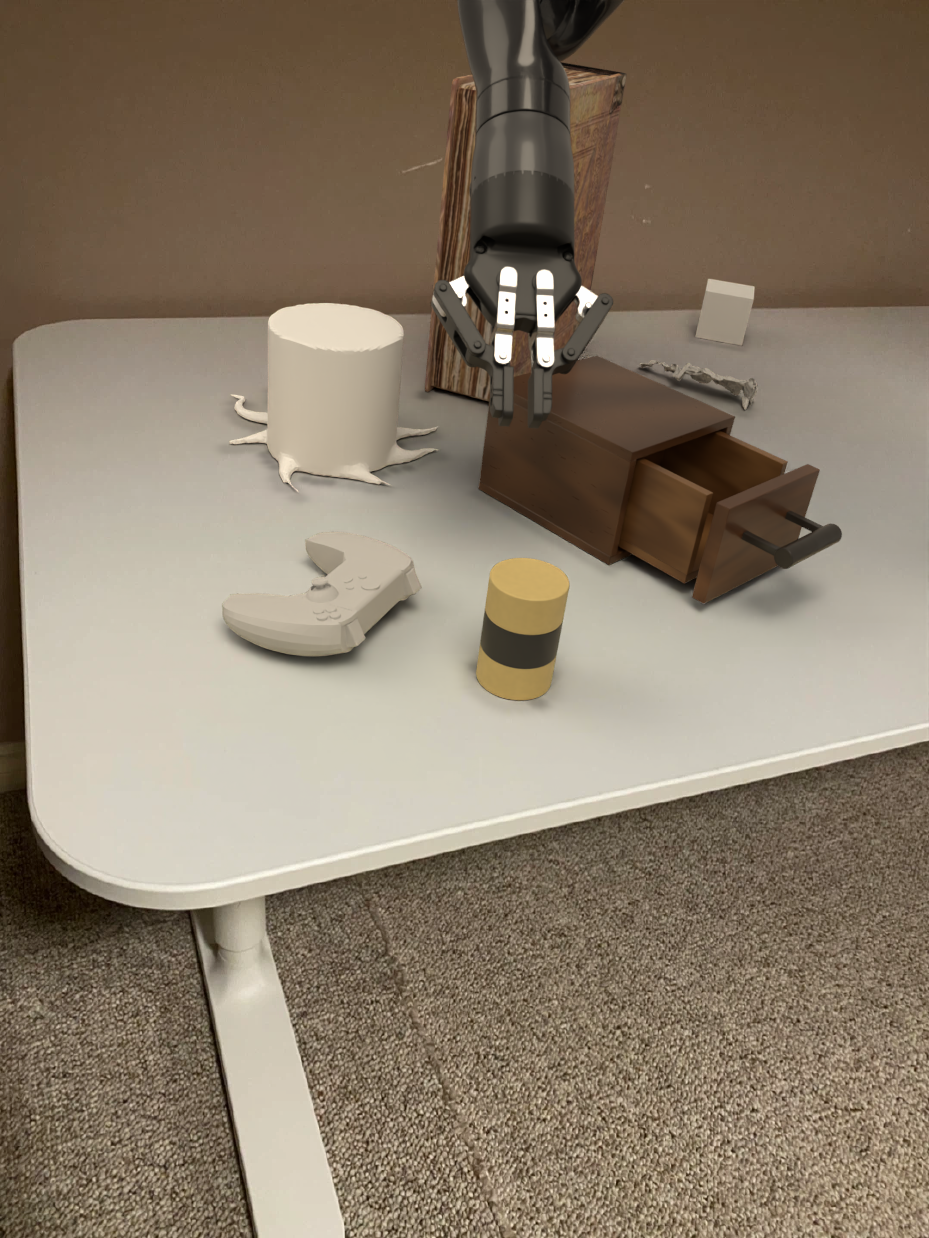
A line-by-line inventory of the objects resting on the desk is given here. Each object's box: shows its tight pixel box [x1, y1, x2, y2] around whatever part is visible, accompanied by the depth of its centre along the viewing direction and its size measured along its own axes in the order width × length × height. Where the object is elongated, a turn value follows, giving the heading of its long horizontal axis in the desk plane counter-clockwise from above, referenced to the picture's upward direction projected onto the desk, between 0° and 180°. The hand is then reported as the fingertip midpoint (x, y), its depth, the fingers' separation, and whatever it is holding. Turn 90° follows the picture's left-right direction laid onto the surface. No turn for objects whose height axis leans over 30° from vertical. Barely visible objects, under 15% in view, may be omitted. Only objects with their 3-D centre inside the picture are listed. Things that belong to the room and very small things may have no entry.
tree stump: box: [229, 302, 440, 493], centre depth 99 cm, size 25×20×12 cm
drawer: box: [618, 430, 843, 605], centre depth 87 cm, size 19×12×8 cm, turn 43°
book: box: [424, 61, 627, 403], centre depth 115 cm, size 25×9×30 cm, turn 156°
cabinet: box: [478, 355, 736, 566], centre depth 94 cm, size 16×14×10 cm
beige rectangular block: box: [695, 278, 755, 347], centre depth 139 cm, size 6×6×6 cm
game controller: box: [221, 531, 422, 657], centre depth 77 cm, size 14×4×10 cm
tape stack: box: [475, 557, 570, 701], centre depth 72 cm, size 5×5×8 cm
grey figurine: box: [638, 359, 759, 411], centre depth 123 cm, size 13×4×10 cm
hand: (521, 422), depth 75 cm, fingers closed
